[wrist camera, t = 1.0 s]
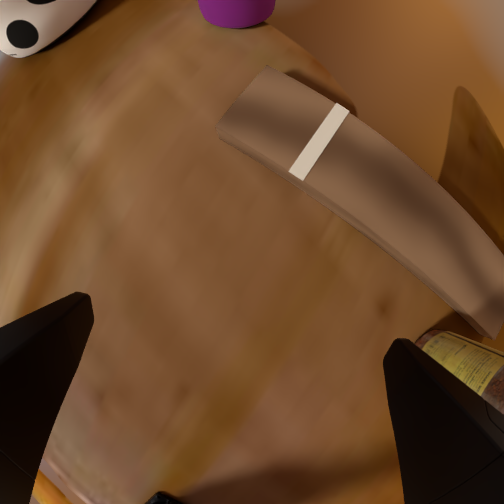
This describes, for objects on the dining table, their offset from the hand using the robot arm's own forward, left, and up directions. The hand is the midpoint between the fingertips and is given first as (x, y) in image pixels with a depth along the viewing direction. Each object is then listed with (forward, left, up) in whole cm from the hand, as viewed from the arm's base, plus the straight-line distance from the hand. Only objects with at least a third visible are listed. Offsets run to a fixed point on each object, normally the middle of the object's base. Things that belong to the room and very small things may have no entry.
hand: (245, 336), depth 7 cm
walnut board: (+11, -7, -15) cm, 20 cm away
